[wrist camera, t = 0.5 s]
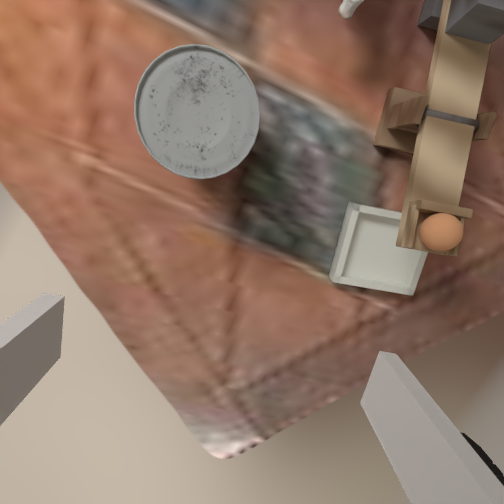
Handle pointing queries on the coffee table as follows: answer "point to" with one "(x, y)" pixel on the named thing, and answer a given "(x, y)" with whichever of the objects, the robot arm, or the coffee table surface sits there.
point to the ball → (441, 232)
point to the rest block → (431, 14)
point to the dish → (375, 252)
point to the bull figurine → (348, 8)
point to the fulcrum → (414, 120)
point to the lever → (449, 116)
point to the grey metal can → (197, 111)
